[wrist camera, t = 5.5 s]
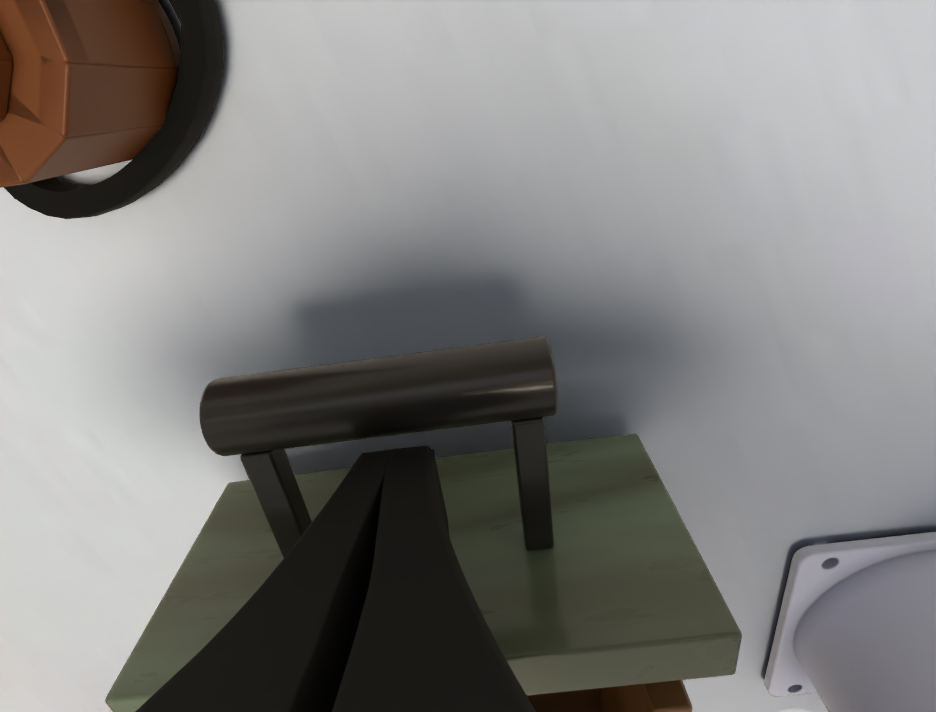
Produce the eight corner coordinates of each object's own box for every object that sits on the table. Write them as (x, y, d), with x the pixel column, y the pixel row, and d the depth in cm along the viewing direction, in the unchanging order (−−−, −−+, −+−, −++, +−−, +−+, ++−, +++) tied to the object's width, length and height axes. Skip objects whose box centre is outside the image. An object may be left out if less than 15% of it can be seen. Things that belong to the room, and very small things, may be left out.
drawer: (156, 327, 12) (-62, 503, 7) (641, 261, 11) (787, 399, 6) (339, 726, 20) (300, 944, 15) (630, 696, 19) (692, 911, 14)
